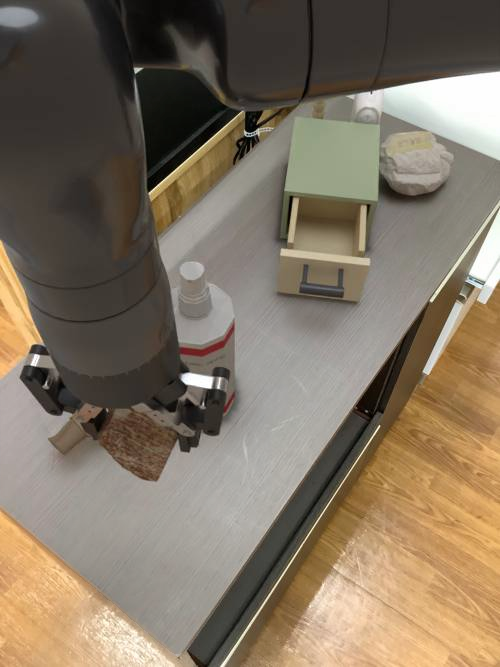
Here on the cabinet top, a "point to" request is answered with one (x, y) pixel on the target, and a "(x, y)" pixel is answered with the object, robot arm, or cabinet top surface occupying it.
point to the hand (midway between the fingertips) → (144, 435)
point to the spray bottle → (204, 326)
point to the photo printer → (367, 107)
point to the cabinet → (332, 165)
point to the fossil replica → (414, 162)
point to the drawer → (325, 250)
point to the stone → (137, 442)
